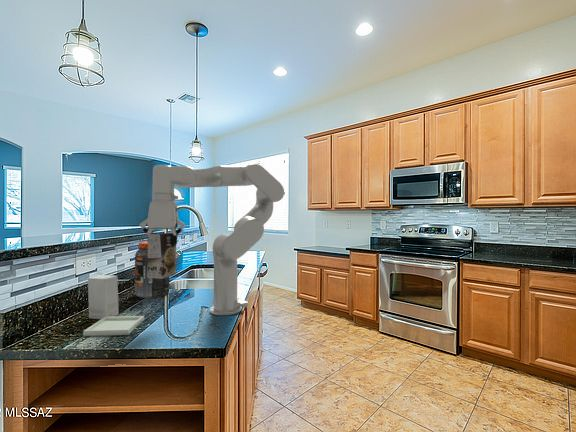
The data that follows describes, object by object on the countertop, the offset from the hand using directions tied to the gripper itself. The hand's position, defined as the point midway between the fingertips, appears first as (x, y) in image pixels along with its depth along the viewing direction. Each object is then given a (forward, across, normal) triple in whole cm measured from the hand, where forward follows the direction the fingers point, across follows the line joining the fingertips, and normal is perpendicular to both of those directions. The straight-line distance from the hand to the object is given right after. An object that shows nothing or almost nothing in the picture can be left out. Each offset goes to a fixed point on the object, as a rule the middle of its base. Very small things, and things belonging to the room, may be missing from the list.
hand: (162, 245), depth 115 cm
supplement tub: (+28, +16, -39) cm, 51 cm away
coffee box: (+12, 0, 0) cm, 12 cm away
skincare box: (+28, +23, -6) cm, 37 cm away
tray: (+28, +13, +6) cm, 32 cm away
